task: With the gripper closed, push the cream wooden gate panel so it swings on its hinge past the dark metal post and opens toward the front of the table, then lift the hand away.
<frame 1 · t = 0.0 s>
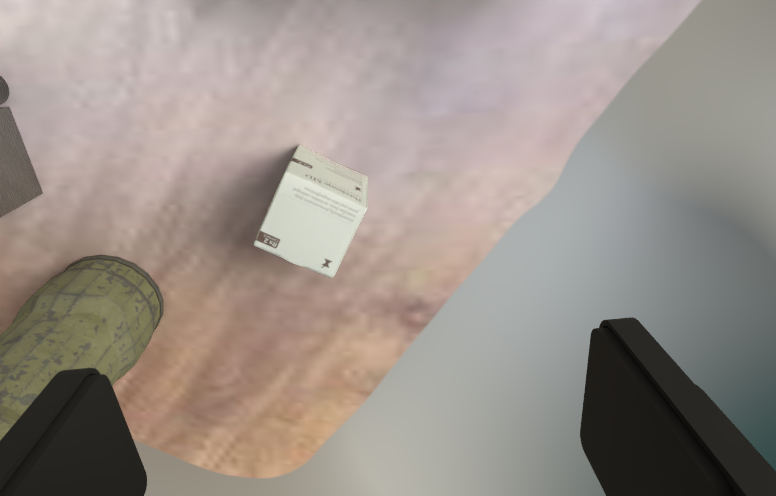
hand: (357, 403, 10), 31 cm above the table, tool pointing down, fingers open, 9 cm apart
skincare box: (318, 191, 41), on the table
thermos: (112, 299, 44), on the table
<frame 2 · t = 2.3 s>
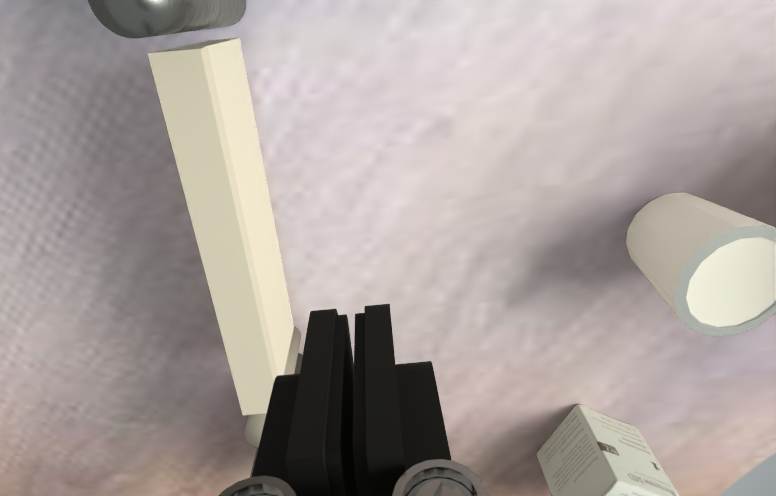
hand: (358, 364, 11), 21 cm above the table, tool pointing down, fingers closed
shot glass: (666, 231, 34), on the table
gate frame: (260, 196, 31), on the table
skincare box: (583, 437, 42), on the table
gate: (247, 245, 27), point 5 cm above the table, hinge at 0.0°
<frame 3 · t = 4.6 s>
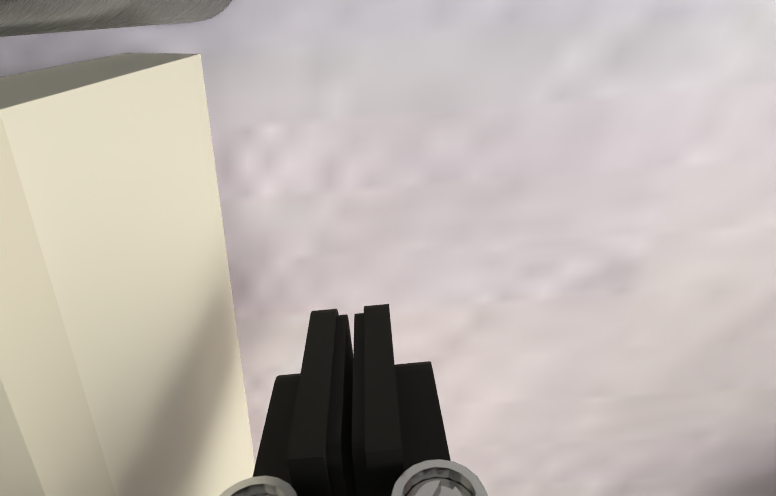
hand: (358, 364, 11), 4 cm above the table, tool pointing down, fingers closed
gate frame: (232, 367, 16), on the table
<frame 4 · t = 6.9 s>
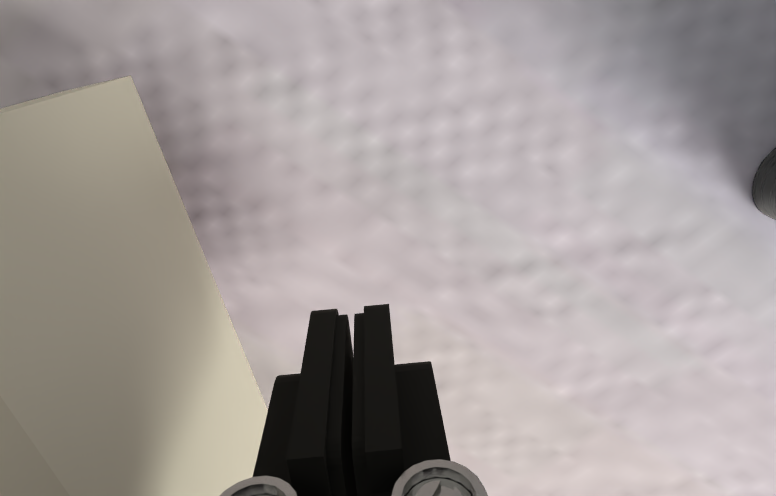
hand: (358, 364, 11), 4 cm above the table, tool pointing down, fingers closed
gate frame: (511, 421, 17), on the table
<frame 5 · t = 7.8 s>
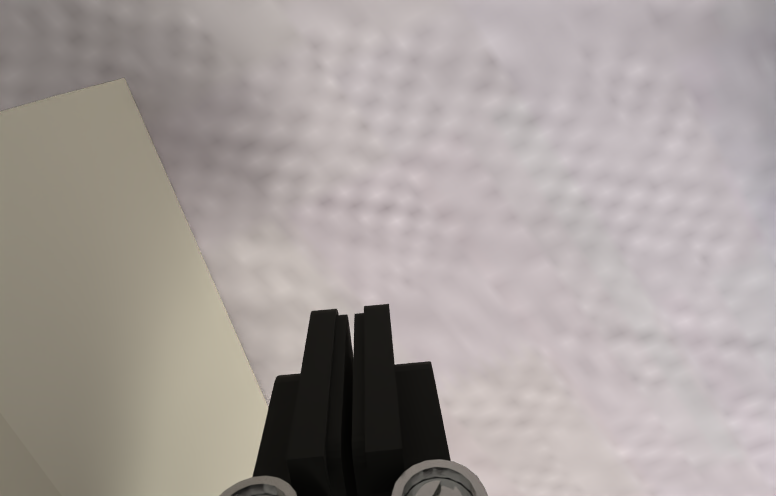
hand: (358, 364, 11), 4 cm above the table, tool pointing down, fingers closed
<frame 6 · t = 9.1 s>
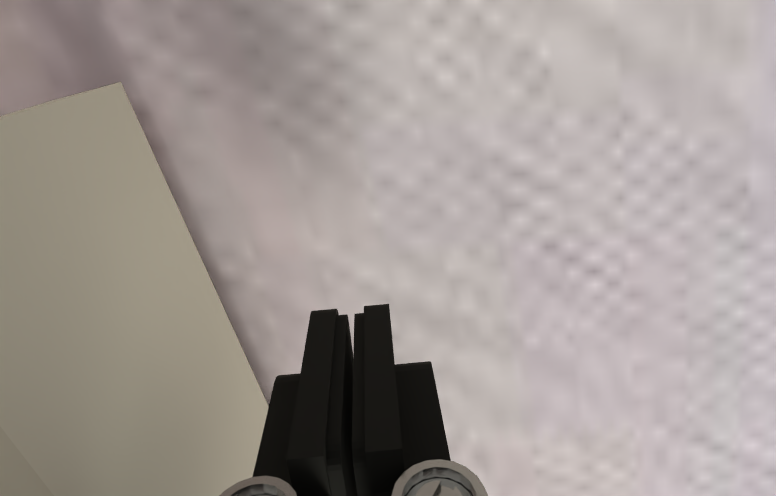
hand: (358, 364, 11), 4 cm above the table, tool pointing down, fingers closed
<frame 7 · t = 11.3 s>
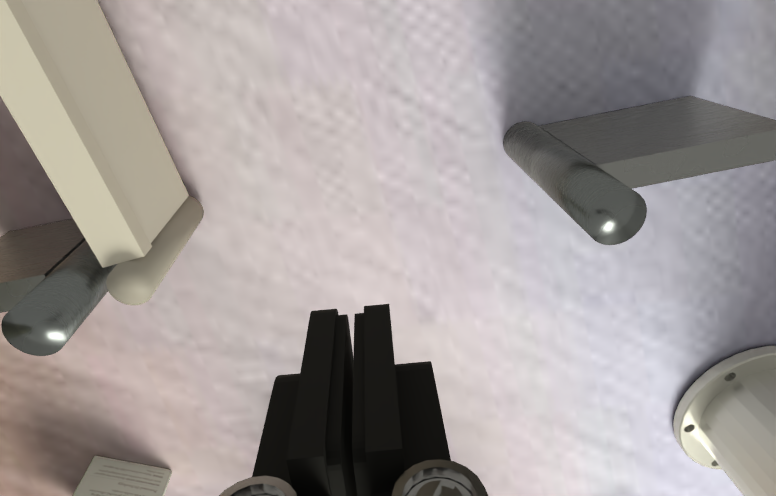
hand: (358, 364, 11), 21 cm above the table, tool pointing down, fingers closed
gate frame: (348, 175, 31), on the table
skincare box: (129, 484, 42), on the table
gate: (72, 68, 23), point 5 cm above the table, hinge at 94.4°
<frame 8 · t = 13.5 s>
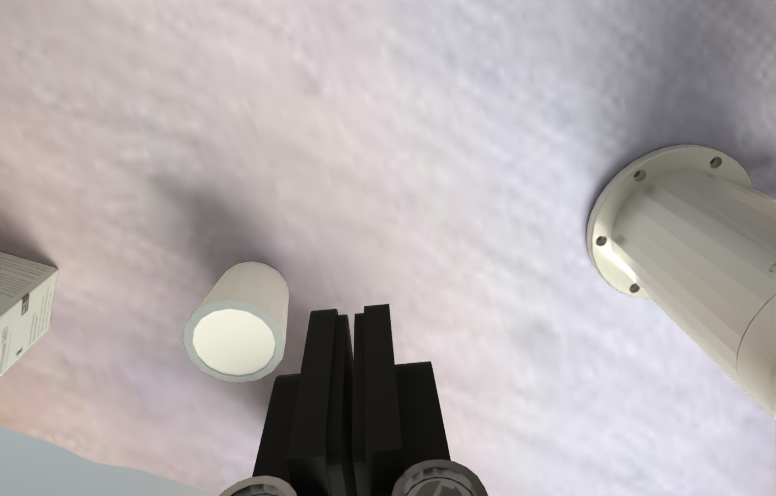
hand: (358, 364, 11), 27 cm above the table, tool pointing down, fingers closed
shot glass: (254, 291, 41), on the table
skincare box: (16, 285, 40), on the table
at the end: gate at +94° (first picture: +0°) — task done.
